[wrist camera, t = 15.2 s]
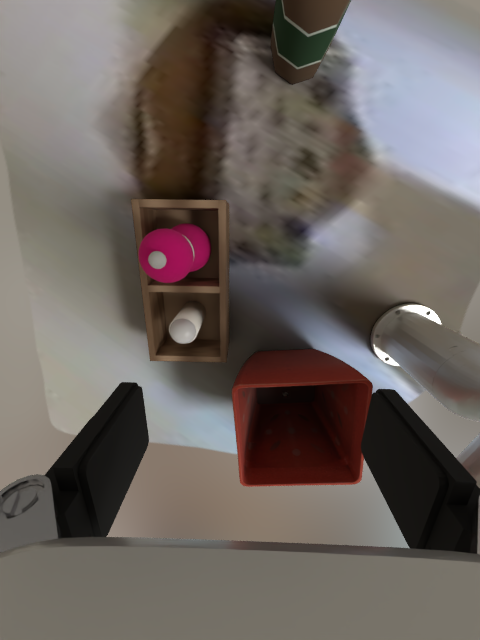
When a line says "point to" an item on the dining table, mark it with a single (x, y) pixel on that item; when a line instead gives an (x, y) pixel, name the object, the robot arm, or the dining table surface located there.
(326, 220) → the dining table surface
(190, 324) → the salt shaker
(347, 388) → the plant pot
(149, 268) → the pepper mill
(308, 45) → the beer bottle
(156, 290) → the caddy
